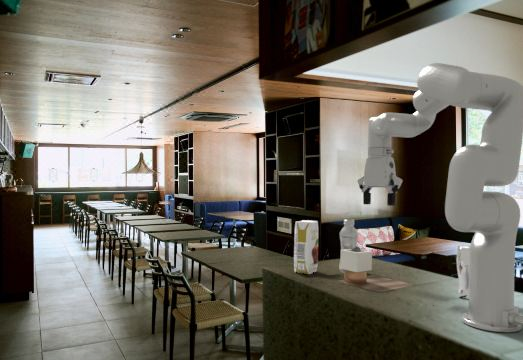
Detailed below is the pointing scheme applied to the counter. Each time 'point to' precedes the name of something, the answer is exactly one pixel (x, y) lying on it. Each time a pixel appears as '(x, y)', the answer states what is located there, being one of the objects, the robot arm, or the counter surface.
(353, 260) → the hollow square frame
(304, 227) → the juice carton
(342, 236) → the plastic bottle
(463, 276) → the beer glass
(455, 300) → the counter surface
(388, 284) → the post board
